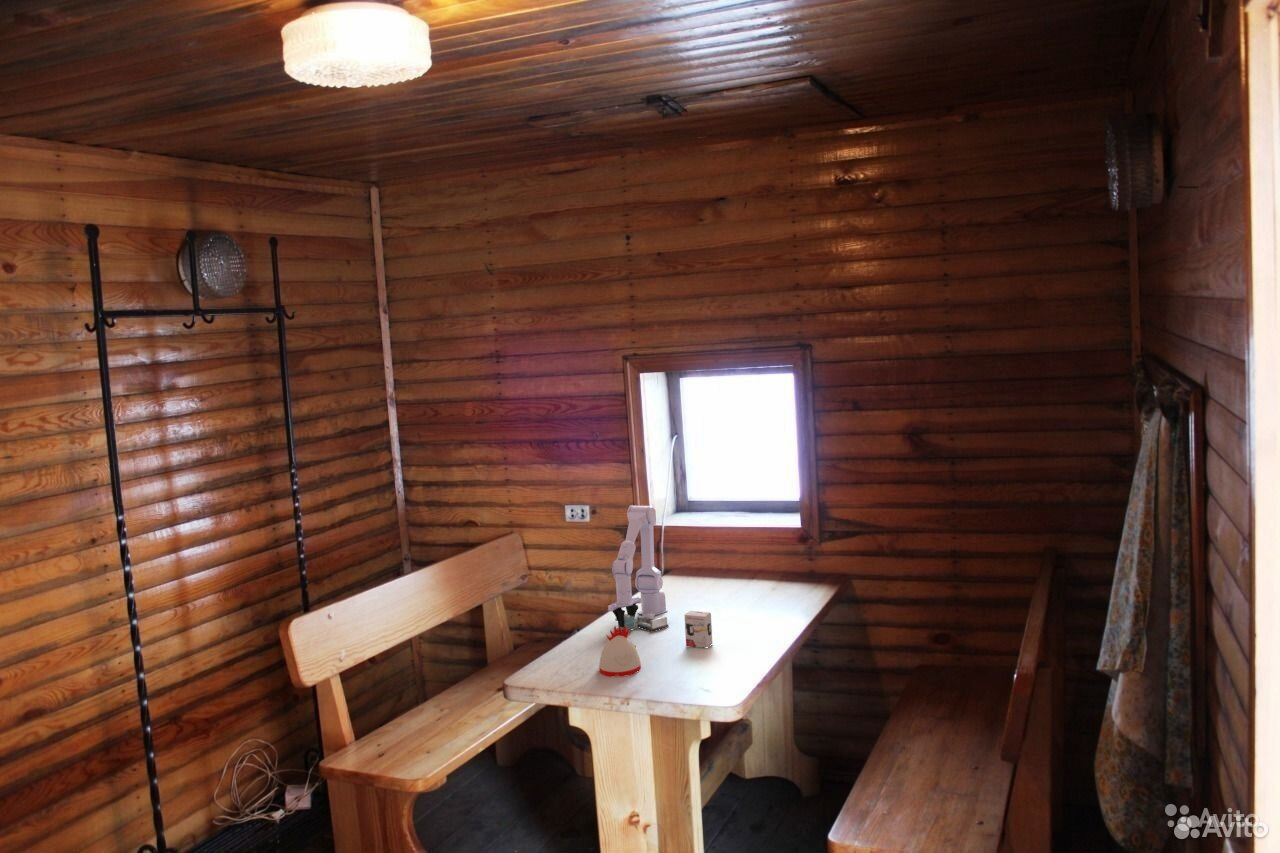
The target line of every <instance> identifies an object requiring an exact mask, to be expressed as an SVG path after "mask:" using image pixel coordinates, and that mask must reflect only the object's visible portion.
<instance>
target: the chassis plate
mask: <svg viewBox="0 0 1280 853" xmlns="http://www.w3.org/2000/svg"><path fill="white" fill-rule="evenodd" d="M636 627H640V628H639V629H641V628H643V629H642V630H644V629H646V630H645V631H647V630H649V631H648V632H651V631H654V632H657V631H660V630H663V629H662V628H664V629H667V628H669V624H668V617H667V616H662V617H658V618H655V615H654V613H650V614H646V615H640V616H638V617H637V625H636ZM666 627H667V628H666ZM659 629H660V630H659ZM656 630H657V631H656Z"/></svg>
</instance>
